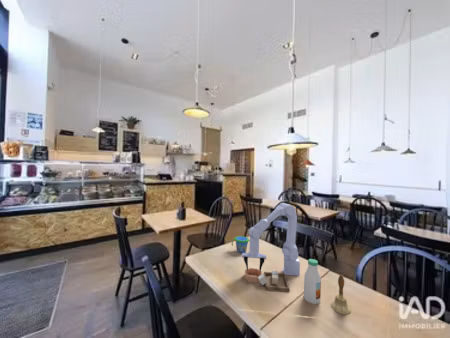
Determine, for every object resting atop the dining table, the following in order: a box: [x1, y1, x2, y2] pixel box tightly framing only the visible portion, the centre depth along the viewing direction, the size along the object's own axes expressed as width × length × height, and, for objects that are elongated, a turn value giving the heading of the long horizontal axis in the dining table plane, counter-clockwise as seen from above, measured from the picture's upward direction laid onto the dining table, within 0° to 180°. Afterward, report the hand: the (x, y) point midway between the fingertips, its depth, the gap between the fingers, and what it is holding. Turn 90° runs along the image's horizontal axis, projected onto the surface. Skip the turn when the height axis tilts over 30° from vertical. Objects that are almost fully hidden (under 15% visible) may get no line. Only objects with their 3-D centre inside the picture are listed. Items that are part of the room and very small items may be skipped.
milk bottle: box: [303, 258, 322, 305], centre depth 101 cm, size 8×8×20 cm
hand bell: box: [330, 274, 352, 315], centre depth 96 cm, size 8×8×16 cm
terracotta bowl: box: [244, 267, 264, 284], centre depth 120 cm, size 10×10×4 cm
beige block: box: [272, 275, 278, 285], centre depth 115 cm, size 3×4×3 cm
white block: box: [258, 273, 267, 286], centre depth 113 cm, size 3×4×3 cm
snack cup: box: [231, 235, 250, 254], centre depth 158 cm, size 16×10×10 cm
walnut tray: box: [263, 271, 290, 292], centre depth 115 cm, size 12×16×2 cm
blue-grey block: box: [271, 270, 279, 277], centre depth 119 cm, size 3×4×3 cm
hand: (253, 269), depth 122 cm, fingers open, 7 cm apart
